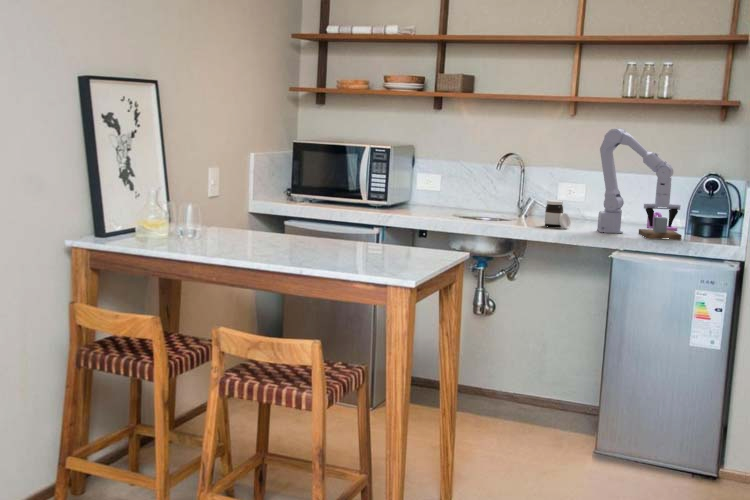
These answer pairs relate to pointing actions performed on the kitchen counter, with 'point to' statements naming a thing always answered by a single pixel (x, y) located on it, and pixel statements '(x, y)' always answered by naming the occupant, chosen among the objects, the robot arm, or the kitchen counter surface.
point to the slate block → (660, 225)
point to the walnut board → (659, 234)
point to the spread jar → (556, 215)
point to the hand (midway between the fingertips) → (660, 226)
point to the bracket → (659, 216)
